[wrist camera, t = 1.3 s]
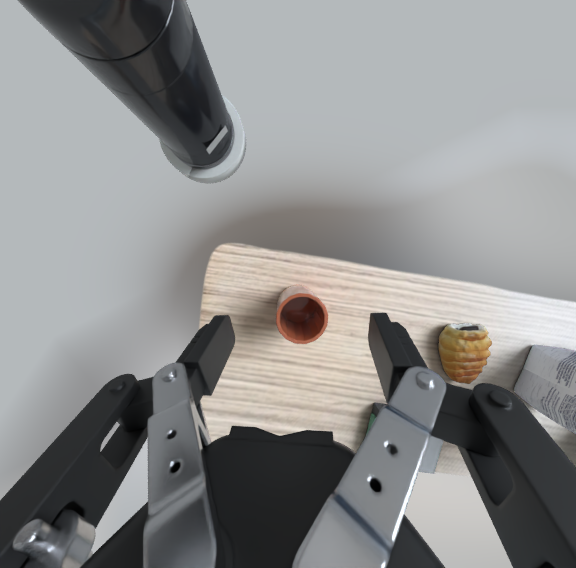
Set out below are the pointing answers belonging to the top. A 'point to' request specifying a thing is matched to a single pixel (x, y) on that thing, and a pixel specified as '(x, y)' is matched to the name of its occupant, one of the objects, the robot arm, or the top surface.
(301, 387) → the top surface
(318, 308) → the terracotta flower pot
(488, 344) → the pastry
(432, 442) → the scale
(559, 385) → the juice carton
